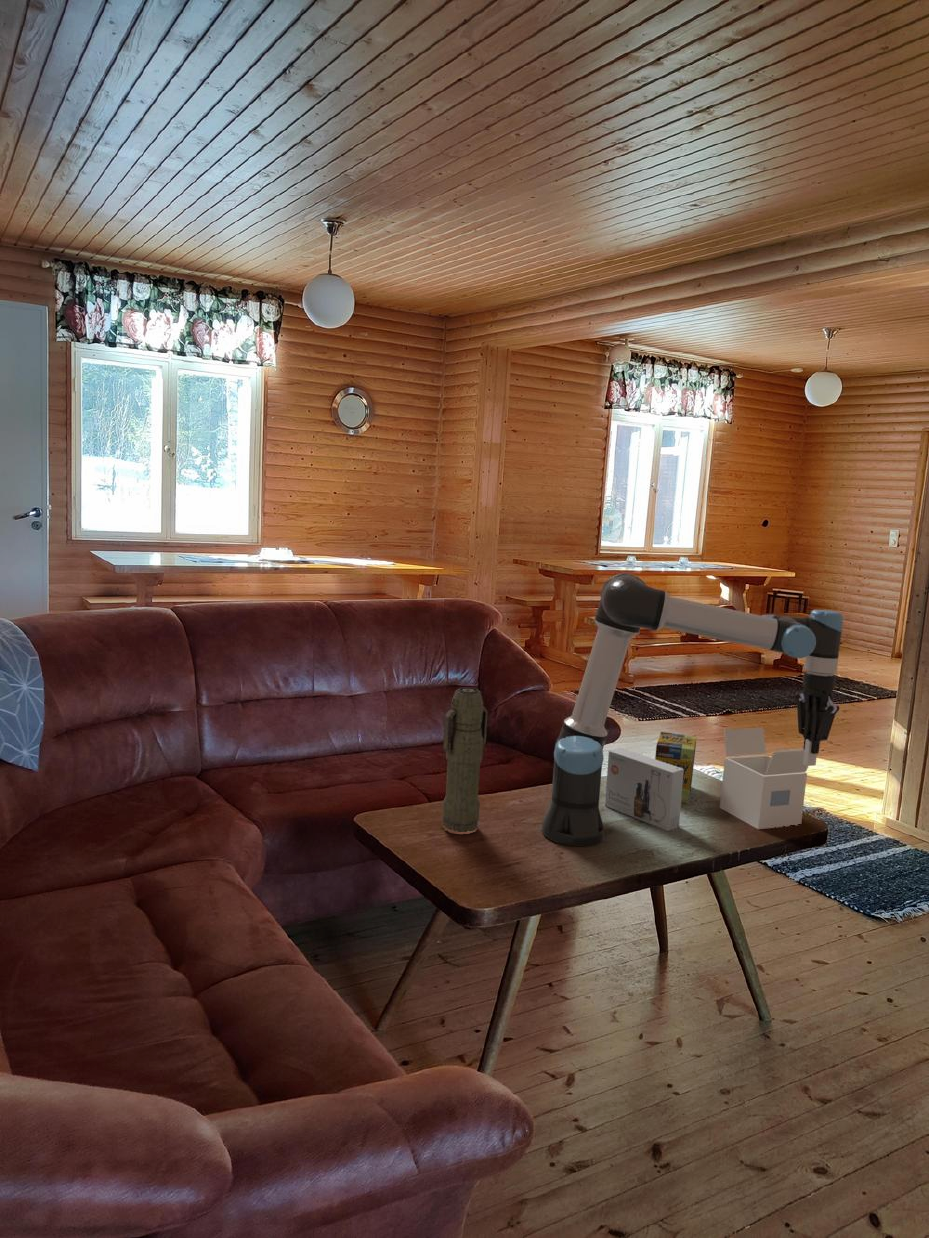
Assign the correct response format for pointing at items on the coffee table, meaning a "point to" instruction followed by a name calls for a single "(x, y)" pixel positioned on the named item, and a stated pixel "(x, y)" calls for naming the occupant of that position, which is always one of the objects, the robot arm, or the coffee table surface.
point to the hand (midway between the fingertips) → (809, 764)
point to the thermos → (464, 759)
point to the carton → (762, 793)
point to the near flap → (786, 762)
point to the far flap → (744, 741)
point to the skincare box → (644, 788)
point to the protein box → (678, 756)
